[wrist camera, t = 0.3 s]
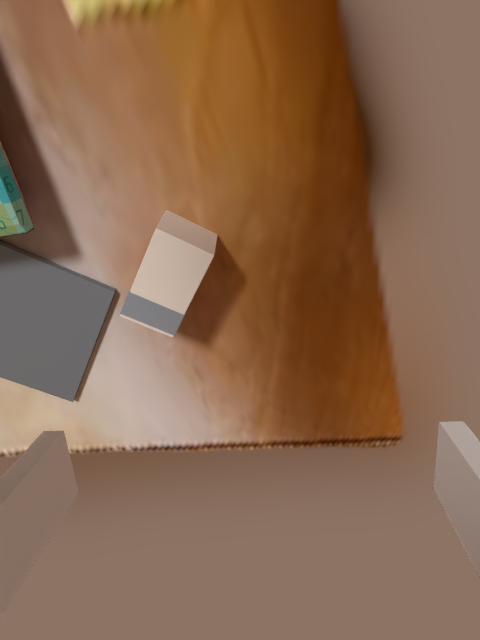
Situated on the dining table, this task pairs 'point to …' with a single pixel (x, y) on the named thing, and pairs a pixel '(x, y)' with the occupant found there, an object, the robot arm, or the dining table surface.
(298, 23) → the dining table surface
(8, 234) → the puzzle game
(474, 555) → the robot arm
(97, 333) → the mat
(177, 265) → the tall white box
